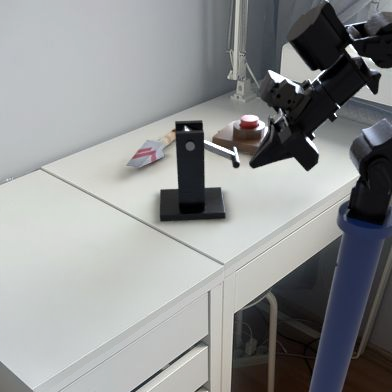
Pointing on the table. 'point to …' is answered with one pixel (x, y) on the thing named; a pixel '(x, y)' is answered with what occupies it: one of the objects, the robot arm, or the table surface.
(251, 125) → the button
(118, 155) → the table surface
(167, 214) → the bracket
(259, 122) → the button block
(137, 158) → the garden trowel
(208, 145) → the lever
